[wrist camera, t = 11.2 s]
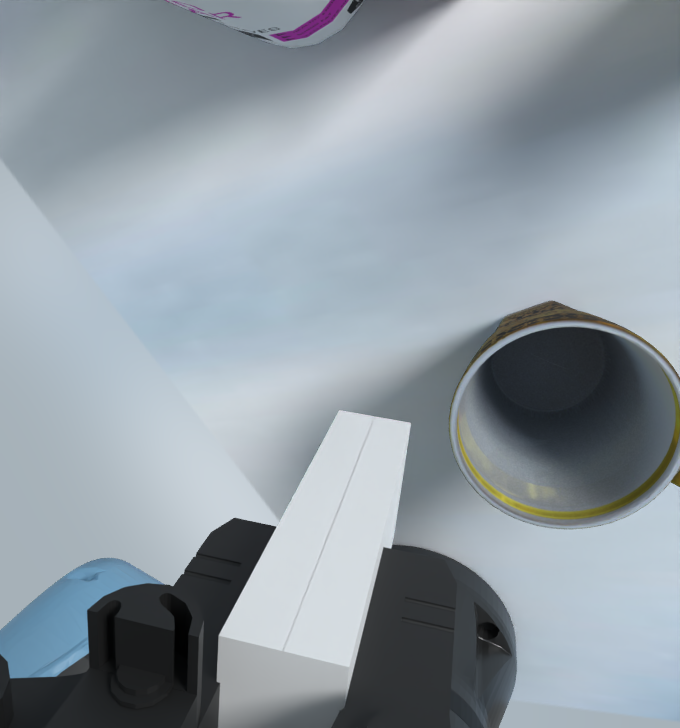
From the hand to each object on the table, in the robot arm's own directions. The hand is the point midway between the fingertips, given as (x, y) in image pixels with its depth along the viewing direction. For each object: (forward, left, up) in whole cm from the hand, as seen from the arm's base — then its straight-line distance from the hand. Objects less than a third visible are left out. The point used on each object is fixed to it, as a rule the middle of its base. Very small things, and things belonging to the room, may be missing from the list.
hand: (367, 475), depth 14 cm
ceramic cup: (-5, -9, -25) cm, 27 cm away
